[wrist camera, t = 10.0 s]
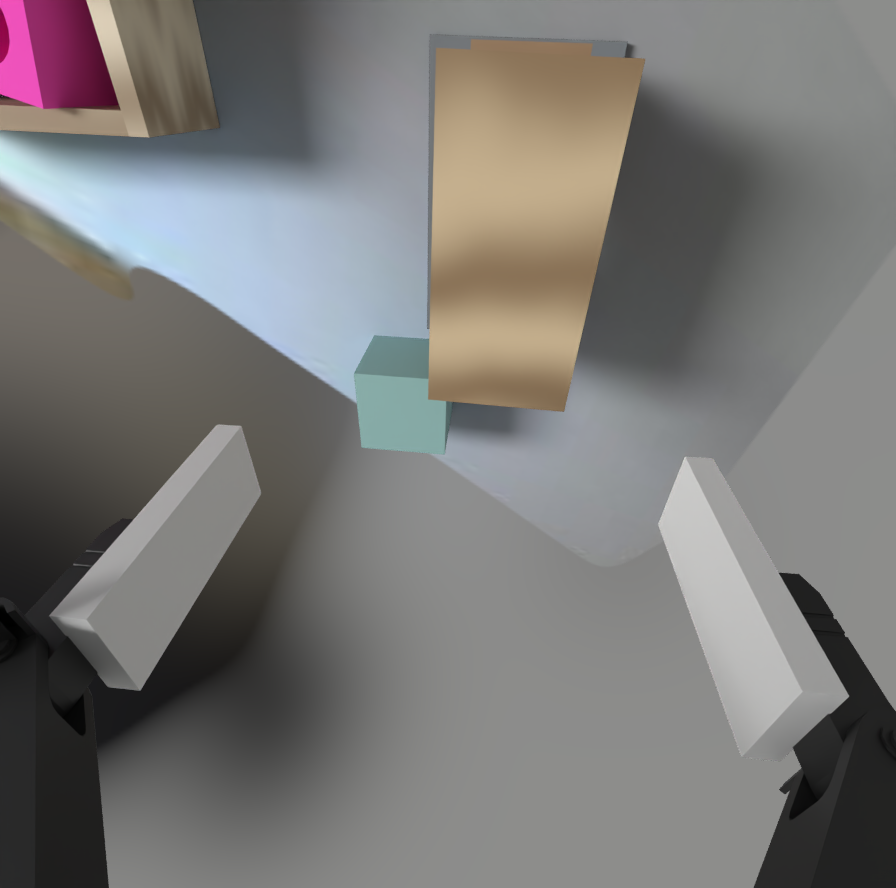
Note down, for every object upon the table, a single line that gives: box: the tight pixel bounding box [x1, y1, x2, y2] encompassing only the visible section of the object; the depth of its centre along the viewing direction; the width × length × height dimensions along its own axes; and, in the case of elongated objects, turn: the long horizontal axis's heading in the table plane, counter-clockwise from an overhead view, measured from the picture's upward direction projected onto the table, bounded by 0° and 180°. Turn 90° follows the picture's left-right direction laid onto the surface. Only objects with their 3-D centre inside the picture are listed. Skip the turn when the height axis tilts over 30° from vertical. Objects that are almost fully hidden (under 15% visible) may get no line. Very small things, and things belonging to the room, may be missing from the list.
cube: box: [354, 336, 452, 454], centre depth 34 cm, size 6×6×6 cm
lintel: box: [428, 48, 645, 412], centre depth 22 cm, size 14×7×5 cm, turn 177°
